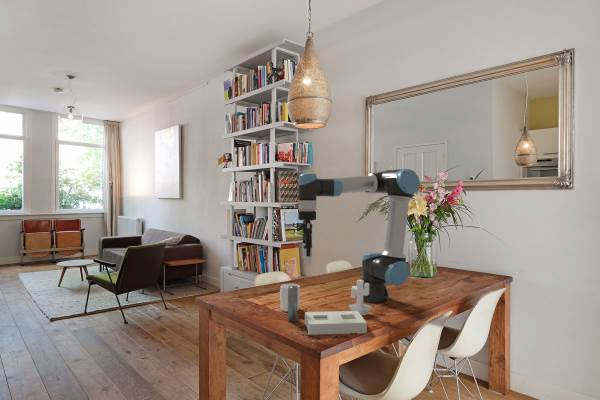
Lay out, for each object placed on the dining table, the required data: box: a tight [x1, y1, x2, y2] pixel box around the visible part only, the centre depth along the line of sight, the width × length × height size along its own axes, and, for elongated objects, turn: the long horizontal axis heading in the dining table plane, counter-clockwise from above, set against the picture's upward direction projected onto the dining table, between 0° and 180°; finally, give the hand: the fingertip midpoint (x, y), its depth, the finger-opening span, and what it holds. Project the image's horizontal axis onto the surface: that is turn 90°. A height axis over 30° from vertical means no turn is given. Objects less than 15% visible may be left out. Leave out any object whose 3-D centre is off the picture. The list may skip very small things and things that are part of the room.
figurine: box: [347, 279, 372, 317], centre depth 164 cm, size 7×9×15 cm
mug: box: [279, 283, 301, 313], centre depth 171 cm, size 9×12×11 cm
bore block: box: [304, 310, 368, 336], centre depth 147 cm, size 22×14×4 cm, turn 95°
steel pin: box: [287, 286, 298, 323], centre depth 155 cm, size 4×4×14 cm
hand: (306, 261), depth 157 cm, fingers open, 13 cm apart
